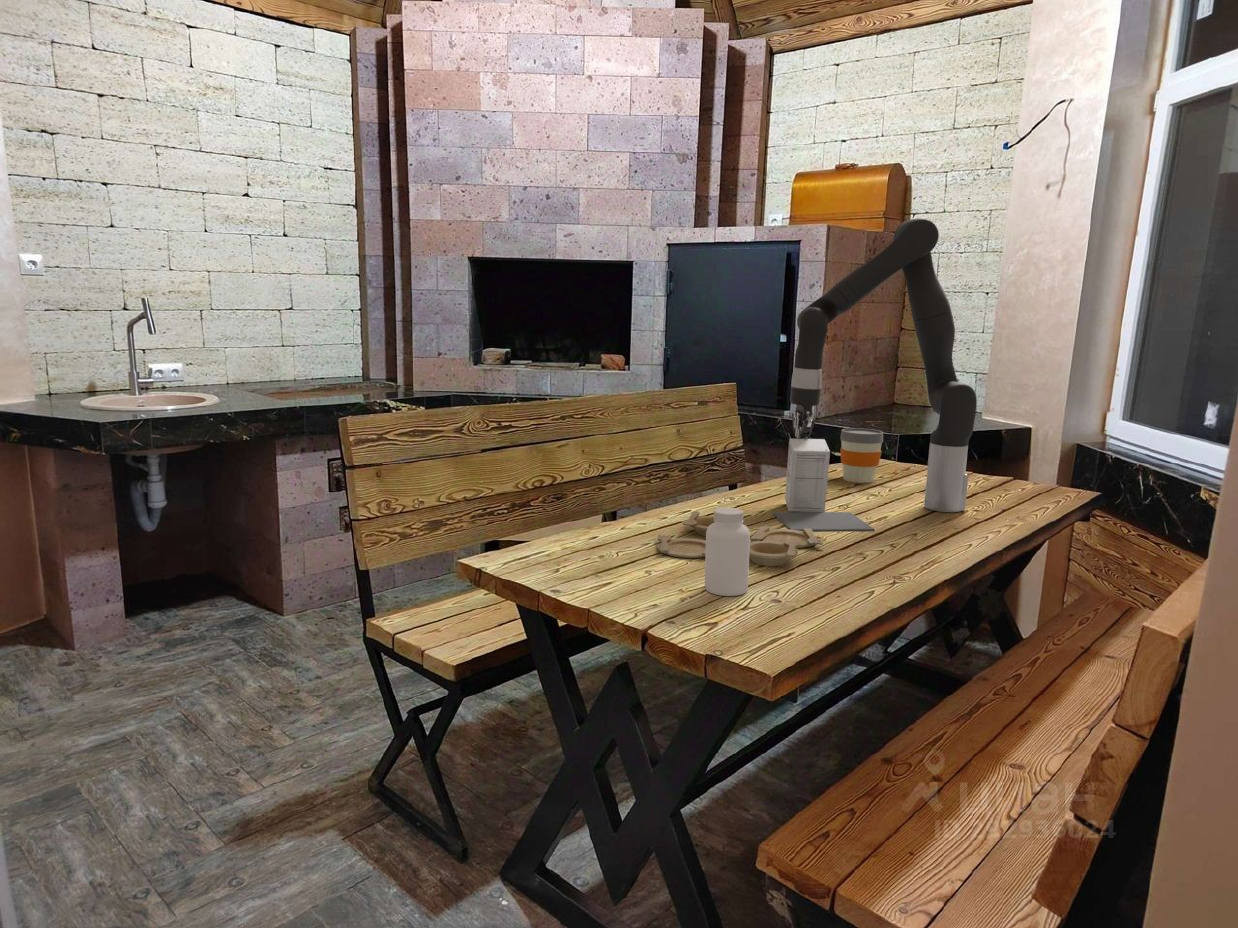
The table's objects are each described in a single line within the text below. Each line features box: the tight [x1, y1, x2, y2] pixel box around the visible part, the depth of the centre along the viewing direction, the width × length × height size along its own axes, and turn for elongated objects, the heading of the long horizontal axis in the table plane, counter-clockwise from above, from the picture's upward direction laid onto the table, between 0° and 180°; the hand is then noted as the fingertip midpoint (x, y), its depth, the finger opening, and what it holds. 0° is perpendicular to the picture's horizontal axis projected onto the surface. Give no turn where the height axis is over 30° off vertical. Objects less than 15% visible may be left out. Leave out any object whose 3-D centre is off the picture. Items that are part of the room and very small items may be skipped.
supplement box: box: [784, 438, 831, 512], centre depth 209 cm, size 10×9×17 cm
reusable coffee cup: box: [839, 427, 884, 484], centre depth 248 cm, size 13×13×15 cm
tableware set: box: [656, 510, 824, 567], centre depth 178 cm, size 35×29×4 cm
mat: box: [772, 511, 876, 532], centre depth 199 cm, size 20×16×1 cm
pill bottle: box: [704, 507, 751, 597], centre depth 149 cm, size 8×8×15 cm
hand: (799, 451), depth 214 cm, fingers closed
